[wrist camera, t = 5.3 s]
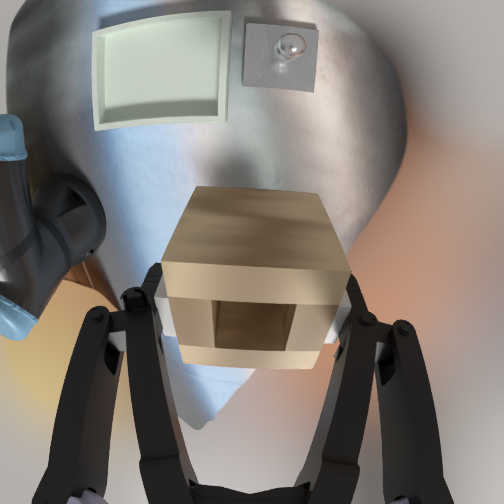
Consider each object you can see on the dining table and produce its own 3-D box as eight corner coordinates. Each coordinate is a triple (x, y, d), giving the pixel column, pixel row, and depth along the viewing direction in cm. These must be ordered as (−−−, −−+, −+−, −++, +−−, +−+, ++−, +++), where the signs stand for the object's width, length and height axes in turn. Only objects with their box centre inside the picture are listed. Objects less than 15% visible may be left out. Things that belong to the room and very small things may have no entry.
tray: (104, 126, 29) (94, 131, 27) (102, 33, 21) (92, 31, 19) (227, 119, 30) (224, 122, 28) (232, 15, 22) (230, 10, 20)
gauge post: (243, 86, 27) (235, 88, 17) (246, 24, 22) (240, -6, 13) (312, 92, 27) (342, 99, 17) (317, 31, 23) (349, 9, 13)
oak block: (201, 278, 19) (183, 362, 14) (196, 186, 15) (160, 260, 10) (299, 283, 19) (312, 368, 14) (317, 193, 15) (351, 271, 10)
